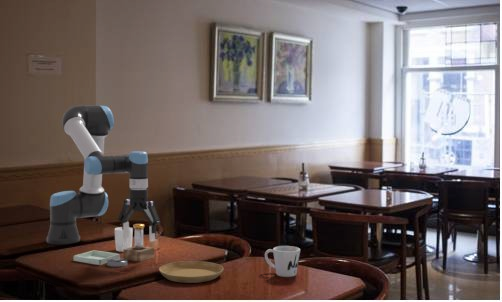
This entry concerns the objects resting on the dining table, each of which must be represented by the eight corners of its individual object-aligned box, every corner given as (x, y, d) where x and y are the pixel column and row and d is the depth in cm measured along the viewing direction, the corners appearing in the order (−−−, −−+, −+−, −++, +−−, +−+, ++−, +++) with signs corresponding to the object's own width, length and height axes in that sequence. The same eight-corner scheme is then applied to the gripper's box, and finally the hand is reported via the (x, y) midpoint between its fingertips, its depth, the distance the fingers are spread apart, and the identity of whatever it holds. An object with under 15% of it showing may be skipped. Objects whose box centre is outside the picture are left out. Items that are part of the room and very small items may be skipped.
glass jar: (131, 258, 260) (130, 225, 259) (138, 256, 264) (137, 223, 263) (139, 259, 258) (139, 226, 257) (146, 257, 262) (146, 224, 261)
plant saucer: (184, 265, 252) (184, 257, 252) (235, 274, 240) (235, 265, 240) (145, 279, 231) (145, 270, 231) (199, 289, 219) (199, 280, 219)
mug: (291, 279, 232) (292, 253, 231) (257, 273, 240) (257, 248, 239) (304, 273, 241) (305, 247, 240) (271, 268, 248) (271, 243, 248)
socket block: (123, 260, 259) (123, 249, 259) (137, 255, 267) (137, 245, 267) (140, 262, 255) (140, 251, 255) (154, 258, 263) (154, 247, 263)
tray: (73, 261, 255) (73, 255, 255) (94, 255, 266) (94, 250, 266) (100, 266, 249) (100, 260, 249) (120, 259, 259) (120, 254, 259)
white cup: (128, 253, 272) (128, 230, 271) (111, 252, 273) (111, 229, 272) (135, 249, 279) (135, 227, 279) (119, 248, 281) (118, 226, 280)
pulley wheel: (103, 266, 248) (102, 259, 248) (116, 262, 255) (116, 255, 255) (118, 269, 244) (118, 262, 244) (131, 264, 251) (131, 258, 251)
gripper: (109, 187, 262) (109, 238, 263) (157, 191, 250) (157, 244, 251) (121, 186, 268) (121, 235, 269) (168, 189, 256) (168, 240, 258)
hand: (139, 239), depth 260 cm, fingers open, 13 cm apart
